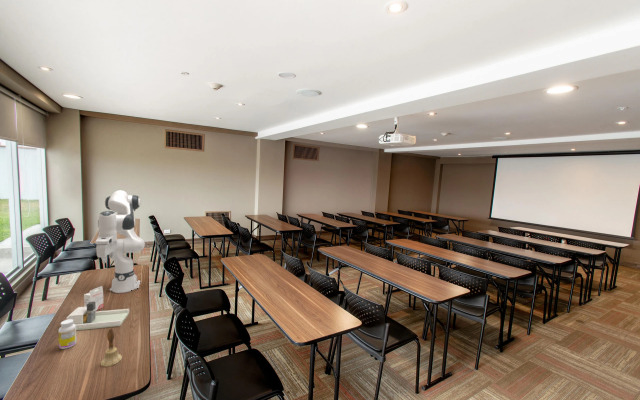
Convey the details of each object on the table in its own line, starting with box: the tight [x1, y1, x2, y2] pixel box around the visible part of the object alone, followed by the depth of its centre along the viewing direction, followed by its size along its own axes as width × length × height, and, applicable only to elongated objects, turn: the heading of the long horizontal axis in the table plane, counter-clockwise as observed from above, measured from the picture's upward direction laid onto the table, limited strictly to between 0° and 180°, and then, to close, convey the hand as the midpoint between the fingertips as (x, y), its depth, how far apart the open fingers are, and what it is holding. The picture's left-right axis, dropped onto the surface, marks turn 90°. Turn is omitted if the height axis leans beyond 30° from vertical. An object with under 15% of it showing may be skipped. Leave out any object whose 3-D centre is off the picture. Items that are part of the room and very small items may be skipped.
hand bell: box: [100, 327, 123, 368], centre depth 129 cm, size 8×8×16 cm
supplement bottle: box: [57, 319, 77, 350], centre depth 138 cm, size 7×7×13 cm
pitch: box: [66, 306, 130, 331], centre depth 161 cm, size 15×26×8 cm, turn 108°
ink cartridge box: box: [83, 285, 105, 312], centre depth 174 cm, size 9×5×15 cm, turn 168°
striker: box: [87, 302, 96, 323], centre depth 160 cm, size 5×3×11 cm, turn 18°
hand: (107, 260), depth 166 cm, fingers open, 8 cm apart
